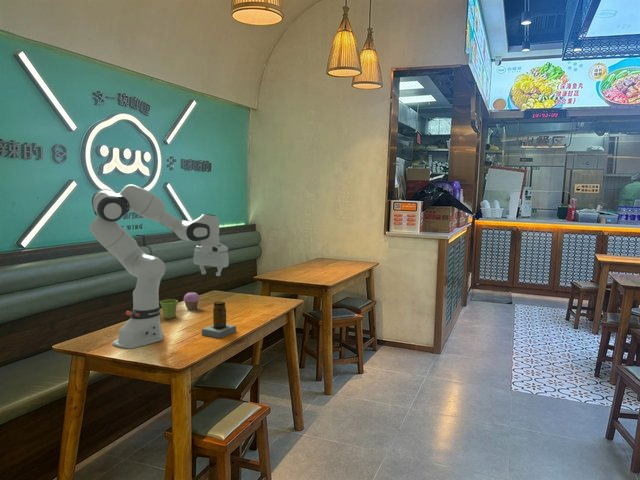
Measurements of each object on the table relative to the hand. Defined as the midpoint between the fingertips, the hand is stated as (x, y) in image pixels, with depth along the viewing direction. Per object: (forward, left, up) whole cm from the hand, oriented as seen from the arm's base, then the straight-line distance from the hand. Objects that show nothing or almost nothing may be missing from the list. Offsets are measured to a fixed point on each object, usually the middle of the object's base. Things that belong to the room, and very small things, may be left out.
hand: (210, 274), depth 228 cm
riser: (-5, -9, -27) cm, 29 cm away
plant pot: (+4, +33, -27) cm, 43 cm away
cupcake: (+22, +34, -27) cm, 49 cm away
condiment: (-5, -9, -24) cm, 26 cm away
